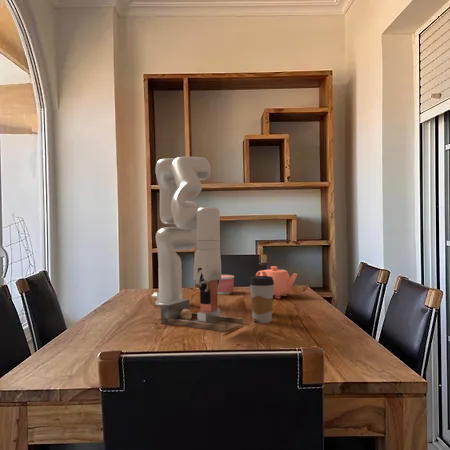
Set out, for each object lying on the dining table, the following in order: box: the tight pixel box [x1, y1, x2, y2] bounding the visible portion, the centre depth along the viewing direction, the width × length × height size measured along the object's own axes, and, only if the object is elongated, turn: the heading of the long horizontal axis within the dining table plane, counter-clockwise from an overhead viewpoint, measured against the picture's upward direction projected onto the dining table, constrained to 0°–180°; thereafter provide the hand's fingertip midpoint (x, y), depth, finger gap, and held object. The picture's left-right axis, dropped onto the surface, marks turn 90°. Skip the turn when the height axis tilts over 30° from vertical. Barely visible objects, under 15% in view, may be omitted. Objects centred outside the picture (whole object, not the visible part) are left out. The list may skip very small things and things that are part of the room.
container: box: [217, 274, 235, 295], centre depth 212 cm, size 10×10×8 cm
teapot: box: [255, 265, 298, 300], centre depth 200 cm, size 16×17×14 cm
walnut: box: [180, 308, 192, 321], centre depth 149 cm, size 4×4×4 cm
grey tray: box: [160, 298, 244, 336], centre depth 146 cm, size 24×12×7 cm, turn 60°
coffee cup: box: [249, 275, 274, 324], centre depth 153 cm, size 8×8×15 cm
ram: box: [196, 279, 221, 324], centre depth 145 cm, size 4×9×14 cm, turn 150°
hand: (208, 302), depth 145 cm, fingers closed on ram, 4 cm apart
